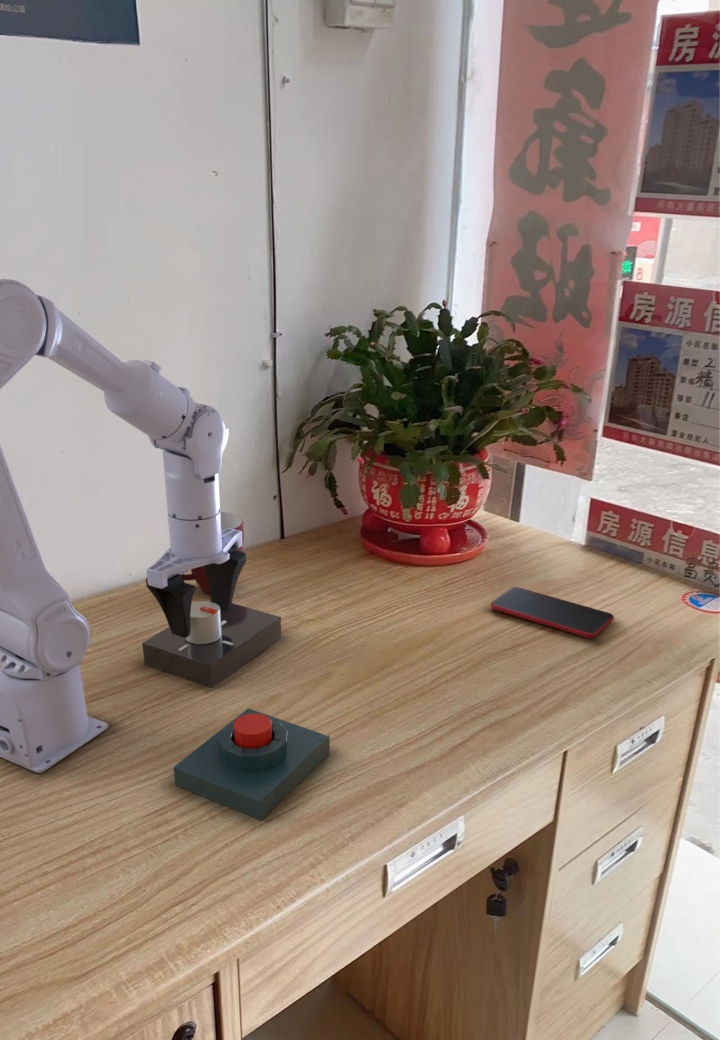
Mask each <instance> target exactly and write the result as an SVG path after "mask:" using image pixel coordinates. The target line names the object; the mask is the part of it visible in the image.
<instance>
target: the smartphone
mask: <svg viewBox="0 0 720 1040" xmlns="http://www.w3.org/2000/svg"><path fill="white" fill-rule="evenodd" d="M490 607H491V608H492V609H493V610H494V611H498V612H500V613H504V614H508V615H511V616H514V617H518V618H521V619H524V620H527V621H531V622H533V623H537V624H540V625H544V626H547V627H551V628H554V629H558V630H561V631H564V632H566V633H570V634H573V635H575V636H579V637H582V638H586V639H594V638H596V637H597V636H598V635H599V634H600V633H601V632H602V631H603V630H604V629H606V627H607V626H608V625H610V623H612V622H613V621H614V620H615V616H614V614H612V613H610V612H607V611H604V610H600V609H597V608H593V607H590V606H586V605H582V604H579V603H575V602H572V601H568V600H564V599H562V598H558V597H555V596H550V595H548V594H544V593H541V592H536V591H533V590H529V589H525V588H522V587H519V586H513V587H511V588H509V589H508V590H506V591H505V592H504V593H502V594H501V595H500V596H498V597H497V598H495V599H493V600H492V601H491V602H490Z"/></svg>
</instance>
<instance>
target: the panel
mask: <svg viewBox="0 0 720 1040" xmlns="http://www.w3.org/2000/svg"><path fill="white" fill-rule="evenodd" d="M220 612H221V629H222V636H221V638H220V639H218V640H217V641H215V642H212V643H208V644H194V643H190V642H188V641H187V640H186V639H185V638H183V637H180V636H177V635H174V634H172V632H171V629H170V627H169V626H168V627H166V628H164V629H163V630H161V631H159V632H157V633H156V634H155V635H154V634H153V636H151V637H149V638H147V639H146V640H144V641H143V642H141V645H142V653H143V662H144V663H143V664H144V666H146V667H150V668H153V669H156V670H159V671H162V672H163V673H167V674H170V675H173V676H177V677H179V678H182V679H185V680H188V681H191V682H194V683H197V684H200V685H203V686H205V687H207V688H208V687H209V688H214V687H215V686H216V685H218V684H220V682H222V681H223V680H225V679H227V678H228V677H230V676H231V675H232V674H234V673H235V672H236V671H238V670H240V668H242V667H243V666H245V665H247V663H249V662H250V661H252V660H253V659H254V658H256V657H257V656H258V655H260V654H261V653H263V652H264V651H266V650H267V649H268V648H270V647H271V646H273V645H274V644H275V643H277V642H278V641H280V640H281V639H282V617H281V616H278V615H275V614H272V613H269V612H264V611H261V610H257V609H254V608H251V607H247V606H244V605H240V604H236V603H233V602H232V603H231V608H230V611H228V612H227V613H226V612H223V611H220Z"/></svg>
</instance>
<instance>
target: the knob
mask: <svg viewBox="0 0 720 1040" xmlns="http://www.w3.org/2000/svg"><path fill="white" fill-rule="evenodd" d="M190 619H191V628H190V634H189V636H188V637H186V638H185V639H186V640H187V641H188V642H190V643H194V644H208V643H212V642H215V641H217V640H218V639H220V638H221V636H222V629H221V612H220V607H219V605H217V604H216V603H213V602H211V601H207V600H199V601H192V603H191V612H190Z"/></svg>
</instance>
